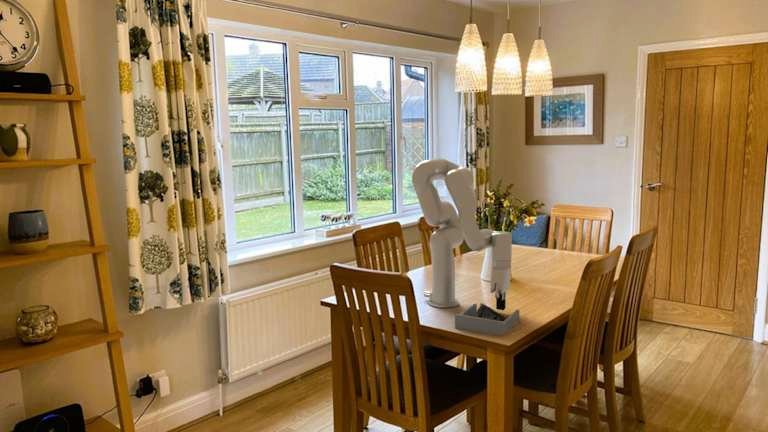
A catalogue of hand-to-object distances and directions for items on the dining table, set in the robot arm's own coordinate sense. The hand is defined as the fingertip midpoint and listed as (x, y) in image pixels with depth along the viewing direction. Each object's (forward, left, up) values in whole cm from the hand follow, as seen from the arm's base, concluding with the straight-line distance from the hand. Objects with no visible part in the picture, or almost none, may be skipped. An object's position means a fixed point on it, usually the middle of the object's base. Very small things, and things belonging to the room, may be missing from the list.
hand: (500, 309), depth 225 cm
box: (0, -14, -2) cm, 14 cm away
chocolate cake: (+1, -10, -2) cm, 11 cm away
